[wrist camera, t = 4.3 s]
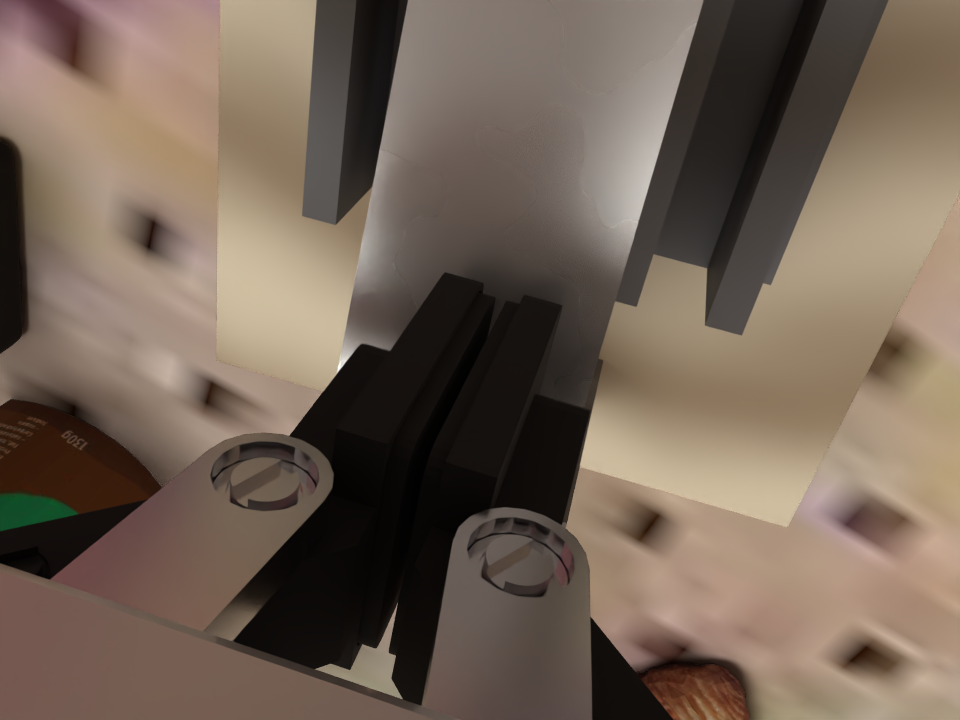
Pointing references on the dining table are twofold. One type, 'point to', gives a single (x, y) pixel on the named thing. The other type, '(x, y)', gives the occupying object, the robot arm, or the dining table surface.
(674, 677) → the pastry
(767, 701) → the dining table surface
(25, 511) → the food container
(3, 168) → the battery
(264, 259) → the heatsink board
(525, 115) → the clamp bar
